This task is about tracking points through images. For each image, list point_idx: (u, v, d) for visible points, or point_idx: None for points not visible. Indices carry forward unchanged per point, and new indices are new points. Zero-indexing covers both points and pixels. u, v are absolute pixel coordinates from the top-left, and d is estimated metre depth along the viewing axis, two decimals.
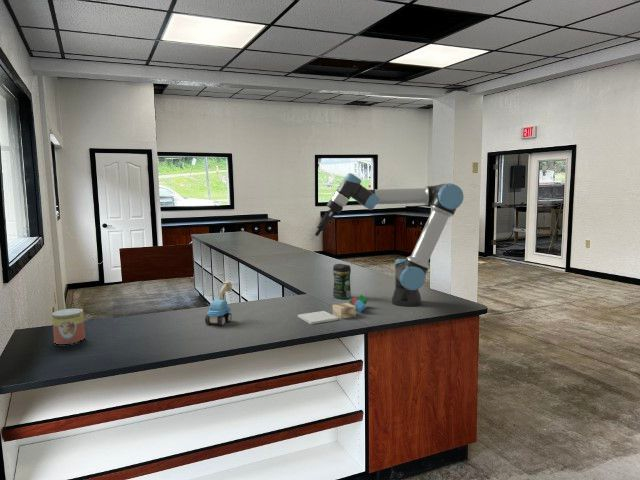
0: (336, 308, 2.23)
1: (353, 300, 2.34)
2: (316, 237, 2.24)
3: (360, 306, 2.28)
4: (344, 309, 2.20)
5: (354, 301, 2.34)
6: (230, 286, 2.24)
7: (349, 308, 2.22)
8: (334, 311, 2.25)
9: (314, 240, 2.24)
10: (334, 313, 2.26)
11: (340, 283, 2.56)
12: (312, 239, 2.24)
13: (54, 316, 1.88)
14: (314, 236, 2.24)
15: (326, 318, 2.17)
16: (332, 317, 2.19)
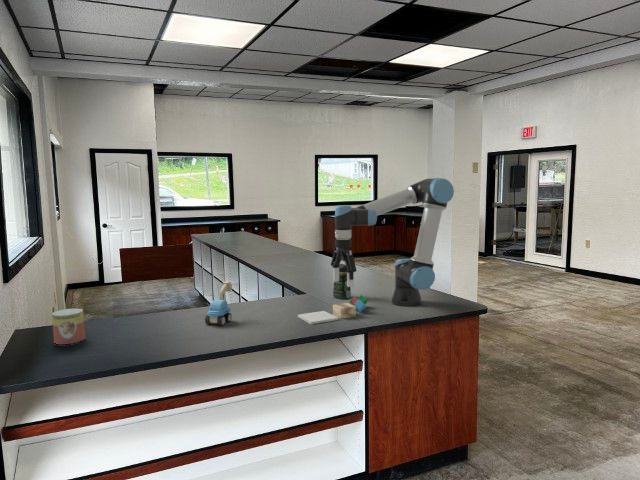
0: (336, 308, 2.24)
1: (353, 300, 2.34)
2: (352, 280, 2.18)
3: (360, 306, 2.28)
4: (344, 309, 2.20)
5: (354, 301, 2.34)
6: (230, 286, 2.24)
7: (349, 308, 2.22)
8: (334, 311, 2.26)
9: (352, 284, 2.18)
10: (334, 312, 2.26)
11: (340, 283, 2.56)
12: (350, 285, 2.17)
13: (54, 316, 1.88)
14: (350, 281, 2.17)
15: (326, 318, 2.17)
16: (332, 317, 2.19)
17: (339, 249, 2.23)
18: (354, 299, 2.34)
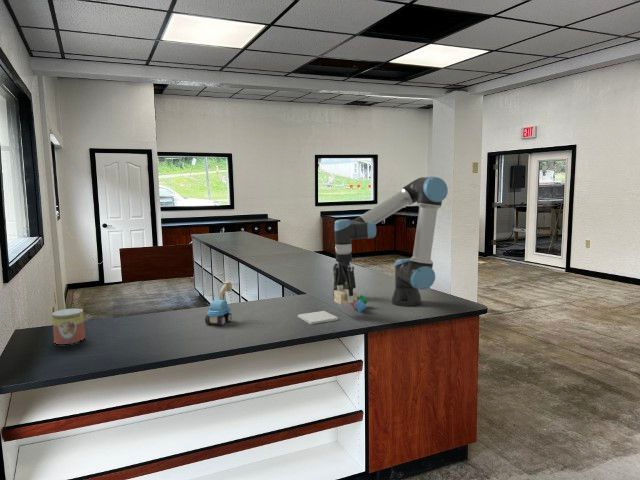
0: (337, 294, 2.23)
1: None
2: (351, 297, 2.20)
3: (361, 306, 2.28)
4: (344, 295, 2.20)
5: None
6: (230, 286, 2.24)
7: None
8: (335, 297, 2.25)
9: (352, 300, 2.21)
10: (335, 298, 2.26)
11: None
12: (350, 301, 2.20)
13: (54, 316, 1.88)
14: (349, 297, 2.20)
15: (326, 318, 2.17)
16: (332, 317, 2.19)
17: (340, 262, 2.24)
18: None
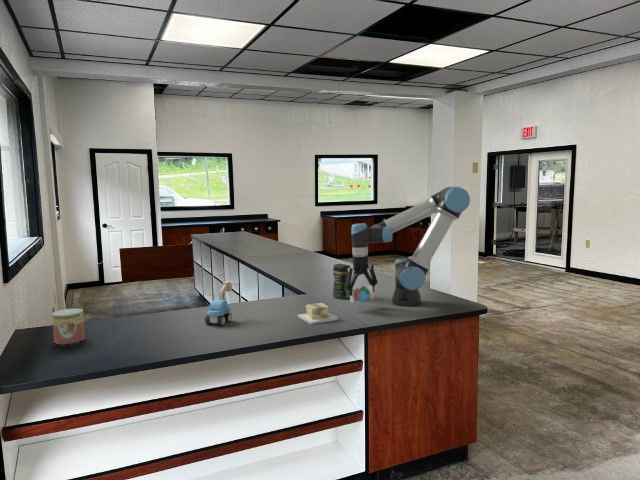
0: (308, 308, 2.19)
1: (356, 291, 2.34)
2: (352, 297, 2.31)
3: (364, 297, 2.28)
4: (316, 309, 2.16)
5: (357, 292, 2.33)
6: (230, 286, 2.24)
7: (321, 308, 2.17)
8: (307, 311, 2.22)
9: (352, 300, 2.31)
10: (307, 312, 2.22)
11: (340, 283, 2.56)
12: (351, 300, 2.32)
13: (54, 316, 1.88)
14: (351, 297, 2.32)
15: (326, 318, 2.17)
16: (332, 317, 2.19)
17: None
18: (357, 290, 2.34)
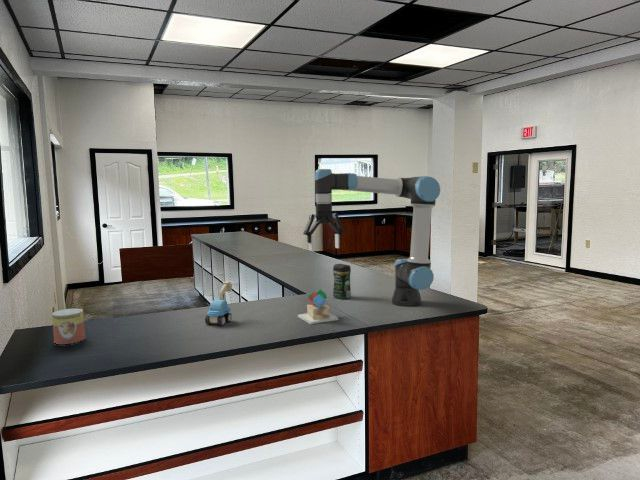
0: (309, 308, 2.19)
1: (312, 295, 2.19)
2: (311, 244, 2.18)
3: (320, 301, 2.14)
4: (317, 309, 2.16)
5: (313, 296, 2.19)
6: (230, 286, 2.24)
7: (322, 308, 2.17)
8: (308, 311, 2.21)
9: (311, 248, 2.18)
10: (308, 313, 2.22)
11: (340, 283, 2.56)
12: (310, 248, 2.19)
13: (54, 316, 1.88)
14: (310, 244, 2.19)
15: (326, 318, 2.17)
16: (332, 317, 2.19)
17: None
18: (313, 294, 2.20)
